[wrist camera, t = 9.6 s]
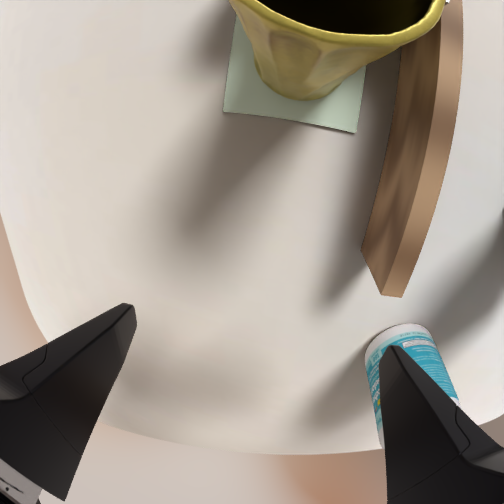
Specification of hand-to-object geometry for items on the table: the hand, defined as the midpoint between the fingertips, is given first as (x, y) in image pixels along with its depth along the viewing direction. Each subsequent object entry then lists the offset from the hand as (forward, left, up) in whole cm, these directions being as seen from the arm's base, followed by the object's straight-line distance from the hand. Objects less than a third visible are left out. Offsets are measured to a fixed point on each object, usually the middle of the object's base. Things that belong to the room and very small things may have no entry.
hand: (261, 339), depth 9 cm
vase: (+8, -8, -13) cm, 17 cm away
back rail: (0, -11, -13) cm, 17 cm away
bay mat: (+8, -8, -13) cm, 17 cm away
